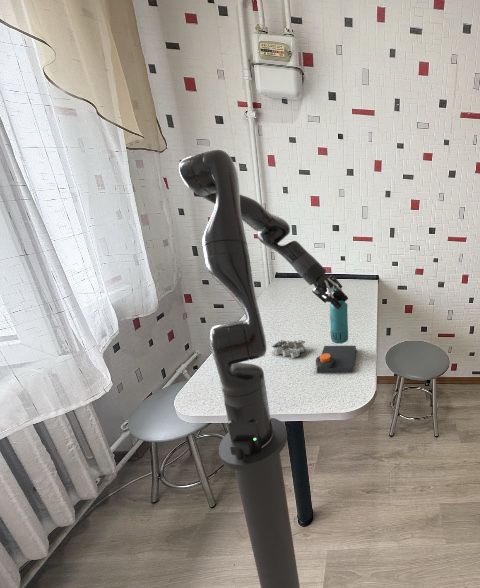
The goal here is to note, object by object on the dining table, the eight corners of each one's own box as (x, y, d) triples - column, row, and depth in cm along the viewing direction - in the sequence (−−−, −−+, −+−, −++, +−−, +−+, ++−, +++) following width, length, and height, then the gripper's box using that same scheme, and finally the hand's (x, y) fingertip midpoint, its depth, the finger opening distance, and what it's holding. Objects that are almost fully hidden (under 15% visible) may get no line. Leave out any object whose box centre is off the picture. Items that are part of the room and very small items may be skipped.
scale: (352, 372, 115) (351, 364, 114) (314, 373, 114) (314, 364, 113) (355, 349, 129) (355, 341, 128) (322, 349, 128) (322, 342, 127)
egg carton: (307, 349, 128) (306, 340, 126) (295, 360, 121) (294, 350, 119) (283, 344, 130) (282, 335, 129) (270, 354, 124) (269, 344, 122)
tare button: (329, 363, 115) (329, 358, 114) (319, 363, 114) (318, 358, 114) (331, 357, 118) (331, 353, 117) (321, 357, 118) (320, 353, 117)
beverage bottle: (346, 337, 127) (345, 289, 119) (350, 346, 121) (349, 295, 114) (329, 340, 124) (327, 290, 117) (332, 348, 118) (330, 297, 111)
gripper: (311, 269, 121) (343, 302, 124) (292, 281, 108) (328, 318, 111) (324, 256, 119) (356, 290, 121) (305, 267, 105) (342, 305, 108)
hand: (343, 303), depth 116 cm, fingers closed on beverage bottle, 6 cm apart
